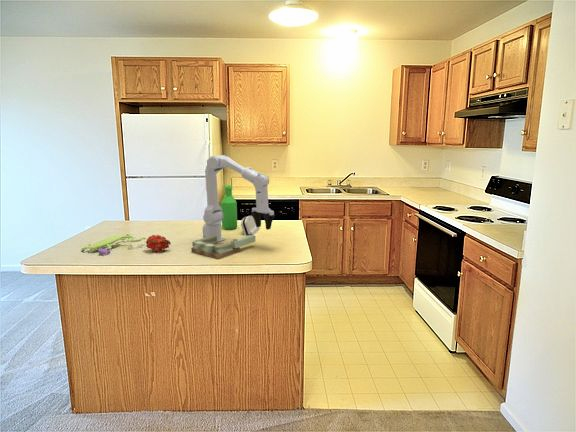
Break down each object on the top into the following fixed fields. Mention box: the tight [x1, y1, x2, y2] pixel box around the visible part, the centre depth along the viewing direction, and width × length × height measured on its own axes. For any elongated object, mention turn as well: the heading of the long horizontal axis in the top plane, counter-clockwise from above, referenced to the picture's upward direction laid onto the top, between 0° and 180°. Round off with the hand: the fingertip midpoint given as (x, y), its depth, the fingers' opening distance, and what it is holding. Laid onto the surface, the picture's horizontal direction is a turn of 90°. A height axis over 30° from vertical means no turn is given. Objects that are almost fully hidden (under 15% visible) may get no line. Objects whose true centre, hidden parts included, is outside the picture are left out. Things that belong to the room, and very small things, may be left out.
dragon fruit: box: [145, 234, 172, 252], centre depth 184 cm, size 8×8×12 cm
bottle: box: [220, 185, 238, 231], centre depth 224 cm, size 9×9×25 cm
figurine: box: [81, 233, 147, 255], centre depth 188 cm, size 18×27×6 cm
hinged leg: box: [230, 234, 257, 248], centre depth 186 cm, size 14×3×4 cm, turn 143°
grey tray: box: [191, 236, 241, 260], centre depth 182 cm, size 18×14×5 cm
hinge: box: [240, 215, 261, 236], centre depth 218 cm, size 17×5×10 cm, turn 171°
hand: (263, 228), depth 188 cm, fingers open, 7 cm apart
